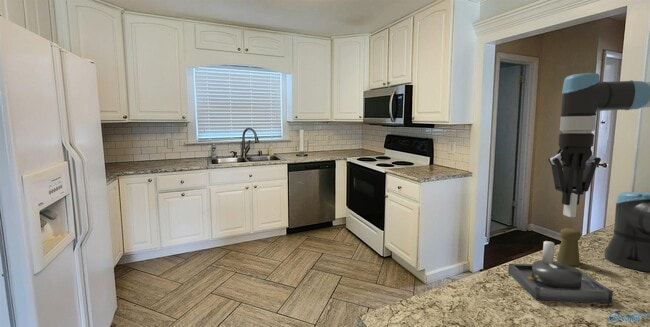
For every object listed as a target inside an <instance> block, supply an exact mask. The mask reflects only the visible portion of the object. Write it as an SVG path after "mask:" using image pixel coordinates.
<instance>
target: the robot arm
mask: <svg viewBox="0 0 650 327" xmlns="http://www.w3.org/2000/svg"><path fill="white" fill-rule="evenodd" d="M561 95H562V96H561V110H560V111H561V112H560V121H559V131H561V132H560V133H559V134H558V147H559V149H558V151H557V154H556V155H554V156H552V157H547V158H548V159H547V160H548V162H549V164H550V165H551V172H552V177H553V183H554V189H555V191H559V192H561V193H562V195H561V196H562V197H561V205H563V208H562V209H563V211H562V215H564V216H566V217H568V218H576V217H577V206H578V205H579V204H580V198H581V195H584V193H585V192H588V191H589V190H590V186H591V183H592V181H593V178H594V175H595V172H596V169H597V166H598V165H599V164H600V163H601V160H602V159H601V158H600V157H598V156H595V155H594V154H593V151H592V147H594V144H595V143H594V141H595V134H594V133H593V132H595V131H596V120H597V112H603V111H605V112H606V111H630V110H639V109H642V108H643V109H644V108H650V81H646V82H645V81H643V80H642V81H640V80H634V79H633V80H632V79H631V80H622V81H621V80H619V81H601V77H600V74H599V73H596V72H585V73H575V74H571V75H568V76H566V77H565V78H564V80H563V85H562V91H561ZM613 228H614V229H613V235H612V237H611V239H610V240H609V243H608V244H607V246H606V247H605V248H604V258H606V259H607V260H608V261H610V262H612V263H614V264H616V265H619V266H622V267H625V268H629V269H633V270H638V271H640V272H641V271H642V272H649V273H650V192H649V191H648V192H646V191H645V192H644V191H623V192H620V193H619V194H618V195H617V198H616V202H615V213H614V227H613Z"/></svg>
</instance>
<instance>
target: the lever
mask: <svg viewBox="0 0 650 327" xmlns="http://www.w3.org/2000/svg"><path fill="white" fill-rule="evenodd" d="M542 246H543V247H542V258H541V259H542V260H535V261H533V263H532V264H533V266H532V276H533V277H534V278H535V279H536V280H537V281H539V282H541V283H543V284H546V285H549V286H552V287H556V288H571V289H578V288H580V287H581V281H582V273H581V272H580V271H581V270H580V269H579V268H577V267H575V266H574V267H575V268H574V267H572V266H570V265H567V264H563V263H560V262H558V261H554V258H555V247H556V246H555V242H553V241H548V240H545V241H543V245H542ZM576 268H577V269H576ZM578 269H579V270H580V271H579V270H578Z"/></svg>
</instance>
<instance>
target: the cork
mask: <svg viewBox="0 0 650 327" xmlns="http://www.w3.org/2000/svg"><path fill="white" fill-rule="evenodd" d="M559 235H560V237H561V242H560V245H559V250H558V253H557V257H556V260H557V261H556V262H560V263H563V264H567V265H572V266H574V267H577V266H580V265H581V261H580V250H579V241H580V239H581V233H580V231H579V230H577V229H576V228H575V229H574V228H569V227H568V228H566V227H564V228H562V229H561V230H560V234H559Z"/></svg>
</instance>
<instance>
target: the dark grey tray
mask: <svg viewBox="0 0 650 327" xmlns="http://www.w3.org/2000/svg"><path fill="white" fill-rule="evenodd" d="M532 266H533V263H531V264H530V263H508V268H507V271H508V273H507V274H509V275H510V276H511V277H512V278H513V279H514V280H515V281H516V282H517V283H518V284H519V285H520V286H521V287H522V288H523V289H524V290H525V291H526V292H527V293H528V294H529V295H530V296H531V297H532V298H533V299H534V300H535V301H547V302H548V301H551V302H552V301H553V302H572V303H573V302H575V303H576V302H577V303H578V302H579V303H598V304H601V303H602V304H612V303H613V295H614V294H613V291H612V290H611V289H610V288H608V287H606V286H605V285H604V284H601V283H600V282H598V281H597V280H595V279H594V278H593V277H591V276H589V275H588V274H586V273H585V272H583V271H581V270H580V269H579V268H577V267H576V266H572V265H570V266H572V267H574V268H576V269H578V270H579V271H580V272H581V273H582V281H581V287H580V288H578V289H571V288H556V287H552V286H549V285H546V284H543V283H541V282H539V281H537V280H536V279H535V278H534V277H533V276H532Z"/></svg>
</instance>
